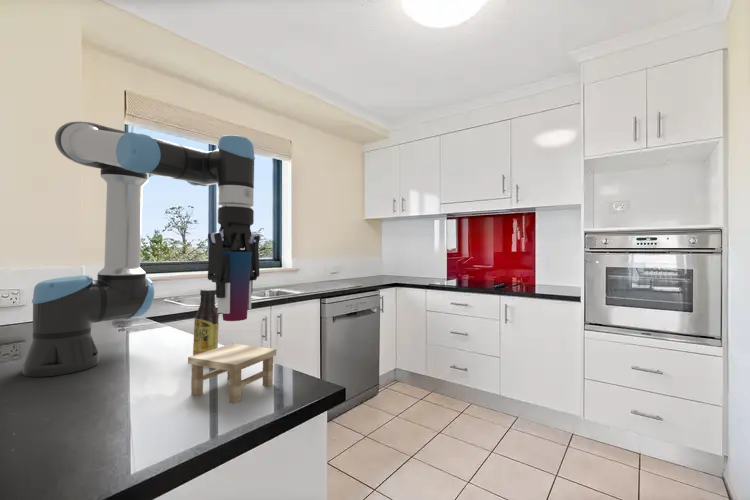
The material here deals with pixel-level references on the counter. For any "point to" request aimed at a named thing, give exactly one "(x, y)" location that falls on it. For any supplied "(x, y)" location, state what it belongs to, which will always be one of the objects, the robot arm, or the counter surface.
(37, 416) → the counter surface
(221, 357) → the beige streaked flat-top fixture
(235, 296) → the cup
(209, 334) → the sauce bottle
